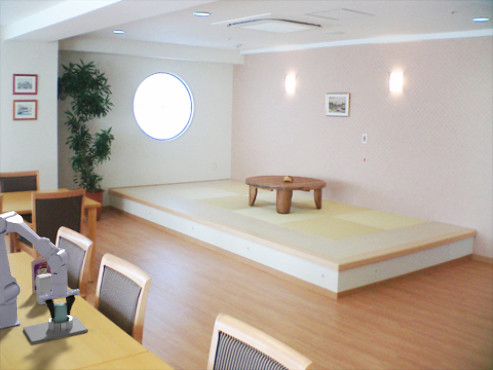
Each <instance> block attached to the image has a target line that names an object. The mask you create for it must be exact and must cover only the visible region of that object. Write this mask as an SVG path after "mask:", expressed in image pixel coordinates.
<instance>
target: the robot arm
mask: <svg viewBox="0 0 493 370" xmlns="http://www.w3.org/2000/svg"><path fill="white" fill-rule="evenodd" d="M8 233H17V234H18V235H20V236H21V237H23V238H24V239H26V240H27V241H28V242H29V243H31V244H32V245H33V250H34V251H36V252H37V253H38V254H39V255H40V256H41V255H42V258H43V259H45V258H46V259H47V263H48V265H49V266H50V270H51V287H52V292H51V293H48V294H45V295H42V296H39V301H40V302H43V301H45V303H46V304H45V305H46V306H47V308H48V311H49V314H50V318H52V319H54V304H55V302H53V299H54V300H58V299H65V303H67V315H68V316H69V315H70V316H71V311H72V307H73V305H74V303H75V301H76V297H75V296H77V297H78V296H80V295H81V292H80V291H81V290H80V289H79V288H76V289H75V288H74V289H69V288H68V263H69V261H70V258H71V257H70V254H69V252H68V250H66V249H64V248H59V247H58V246H56V245H55V244H54V243H53V242H52V241H51V239H50V238H48V237H45V236H43V237H41V236H39V235H38V234H37V233H36V232H35V231H34V230H33V229H32V228H31V227H30V226H29V225H28V224H27V223H25V222H24V219H23V217H22V216H21V215H19V214H18V213H17V212H16V211H15V210H9V211H7V212H4V213H0V329H5V328H9V327H15V326H19V325H21V322H20V320H19V318H18V306H17V305H18V303H17V302H18V301H17V300H18V296H19V295H20V293H21V288H20V287H21V286H20V285H19V283H18V282H17V279H16V278H15V277H14V276H12V271H11V266H10V263H9V256H8V250H7V245H6V241H5V240H6V239H5V236H6V235H7V234H8Z"/></svg>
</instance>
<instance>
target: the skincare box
mask: <svg viewBox="0 0 493 370" xmlns="http://www.w3.org/2000/svg"><path fill="white" fill-rule="evenodd" d="M36 289H37V293H36V302H37V304H38V305H40V306H41V305H47V304H46V303H45V301H43V302H40V301H39V296H42V295H45V294H48V293H51V292H52V287H51V274H50V273H47V274H41V275H36ZM54 301H55V299H53V303H55V302H54Z"/></svg>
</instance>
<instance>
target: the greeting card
mask: <svg viewBox="0 0 493 370" xmlns="http://www.w3.org/2000/svg"><path fill="white" fill-rule="evenodd" d="M30 264H31V265H30V267H31V287H32V291H31V292H32V295H34V294H37V289H36V275H41V274H47V273H50V274H51V270H50V266H49V265H48V263H47V259H46V258H43V256H42V255H41V254H40V255H39V256H37V258H34V260H32V261H31V262H30Z"/></svg>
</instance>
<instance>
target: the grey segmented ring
mask: <svg viewBox="0 0 493 370" xmlns="http://www.w3.org/2000/svg"><path fill="white" fill-rule="evenodd" d="M72 317H73V316H72V315H71V314H70V315H69V316H68V315H67V321H66V322H62V323H54V321H53V319H52V318H51V317H49V318H48V320H47V321H48V329H49V330H50V331H53V332H63V331H67V330H69V329H71V328H72V327H73V318H72Z"/></svg>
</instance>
